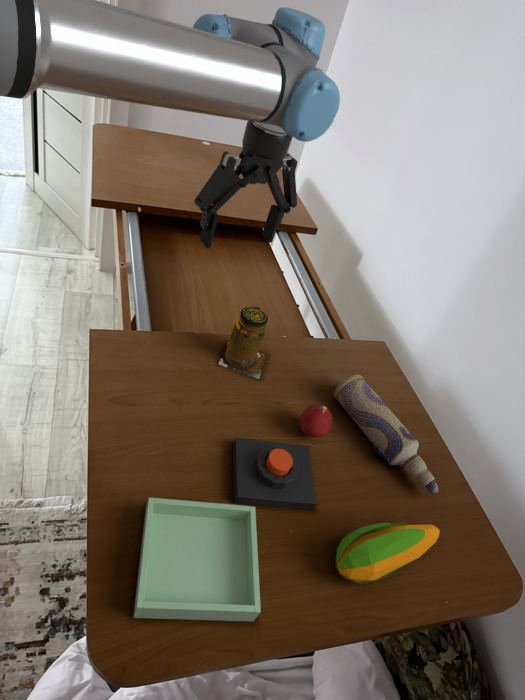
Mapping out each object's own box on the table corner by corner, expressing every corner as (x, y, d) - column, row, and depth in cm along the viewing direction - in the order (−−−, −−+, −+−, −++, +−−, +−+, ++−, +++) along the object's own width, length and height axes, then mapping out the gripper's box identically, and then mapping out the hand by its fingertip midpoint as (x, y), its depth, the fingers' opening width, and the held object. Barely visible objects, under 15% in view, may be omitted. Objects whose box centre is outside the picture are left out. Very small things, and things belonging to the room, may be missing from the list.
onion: (296, 416, 95) (311, 388, 89) (325, 426, 95) (341, 399, 90) (291, 440, 90) (306, 412, 85) (321, 450, 91) (338, 424, 85)
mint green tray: (133, 618, 63) (136, 607, 61) (145, 510, 74) (148, 497, 71) (253, 622, 67) (260, 612, 64) (248, 518, 77) (255, 506, 75)
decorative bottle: (325, 400, 100) (338, 377, 95) (352, 390, 104) (365, 368, 100) (413, 510, 87) (433, 490, 82) (440, 494, 91) (460, 474, 87)
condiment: (228, 341, 104) (242, 297, 96) (266, 356, 104) (284, 313, 96) (218, 364, 98) (232, 319, 90) (258, 380, 98) (276, 336, 90)
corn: (336, 529, 71) (438, 495, 81) (316, 549, 77) (413, 515, 86) (361, 582, 67) (465, 540, 77) (338, 599, 73) (437, 558, 82)
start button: (266, 474, 79) (269, 468, 78) (265, 453, 82) (268, 447, 81) (290, 477, 80) (294, 471, 79) (288, 456, 83) (291, 450, 82)
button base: (233, 504, 78) (240, 491, 76) (232, 444, 86) (238, 431, 83) (312, 510, 81) (321, 498, 79) (304, 453, 89) (311, 440, 86)
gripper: (213, 133, 70) (185, 259, 84) (342, 140, 84) (300, 247, 98) (189, 110, 74) (166, 233, 88) (316, 120, 88) (279, 226, 102)
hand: (237, 241), depth 93 cm, fingers open, 13 cm apart
